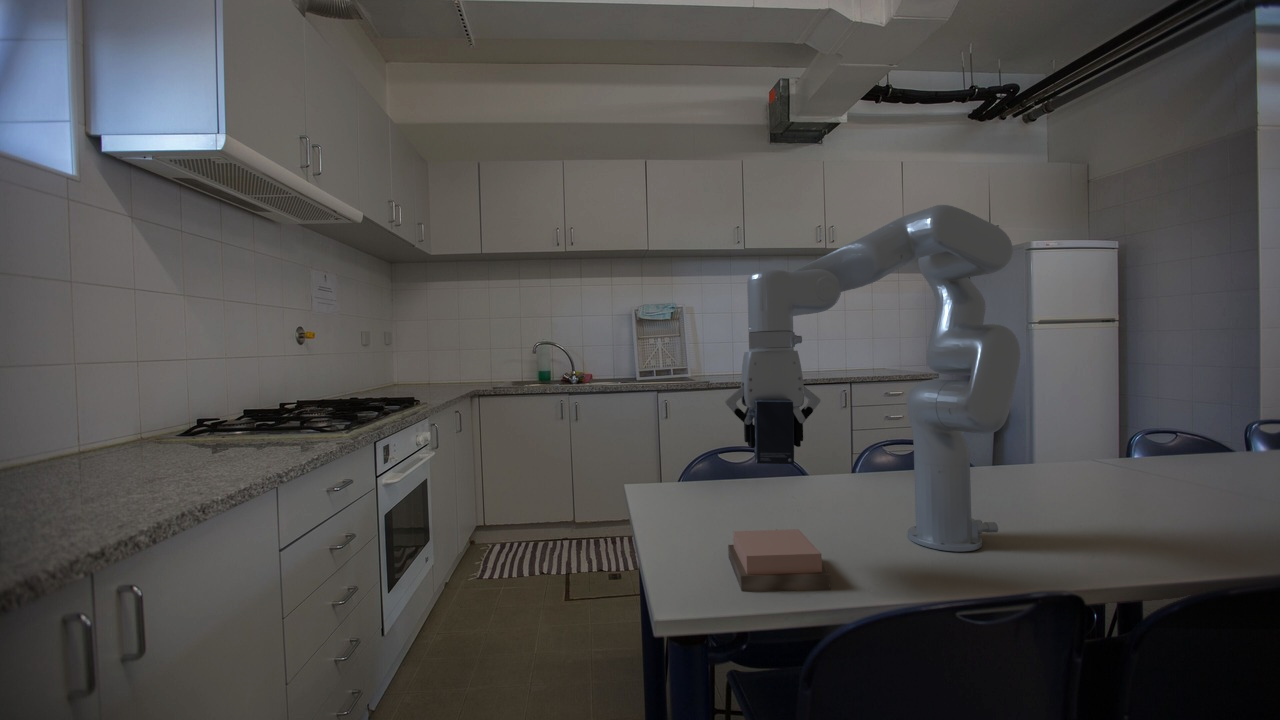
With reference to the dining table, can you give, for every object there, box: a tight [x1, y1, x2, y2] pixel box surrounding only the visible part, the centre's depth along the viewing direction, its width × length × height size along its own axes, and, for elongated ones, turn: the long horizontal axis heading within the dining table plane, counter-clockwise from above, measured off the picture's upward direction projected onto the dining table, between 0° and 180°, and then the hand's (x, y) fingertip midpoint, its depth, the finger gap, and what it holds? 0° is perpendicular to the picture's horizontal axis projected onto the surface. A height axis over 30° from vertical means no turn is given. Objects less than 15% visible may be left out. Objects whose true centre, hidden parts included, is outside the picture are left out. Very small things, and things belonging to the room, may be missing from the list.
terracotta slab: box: [732, 528, 823, 575], centre depth 89 cm, size 12×12×3 cm
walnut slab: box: [727, 544, 831, 592], centre depth 90 cm, size 14×14×3 cm
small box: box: [753, 399, 795, 465], centre depth 89 cm, size 11×6×10 cm, turn 169°
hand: (773, 445), depth 90 cm, fingers closed on small box, 7 cm apart
